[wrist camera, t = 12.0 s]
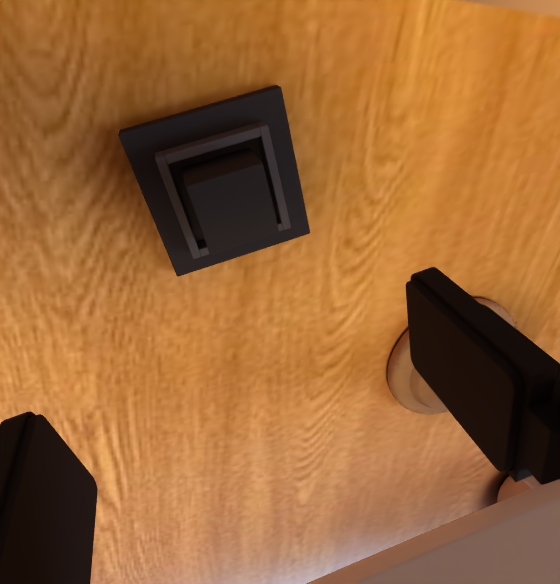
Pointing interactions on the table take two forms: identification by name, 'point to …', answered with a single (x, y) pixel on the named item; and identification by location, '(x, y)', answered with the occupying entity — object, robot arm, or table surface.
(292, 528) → the table surface
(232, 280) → the table surface
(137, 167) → the base pad
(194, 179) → the black block
